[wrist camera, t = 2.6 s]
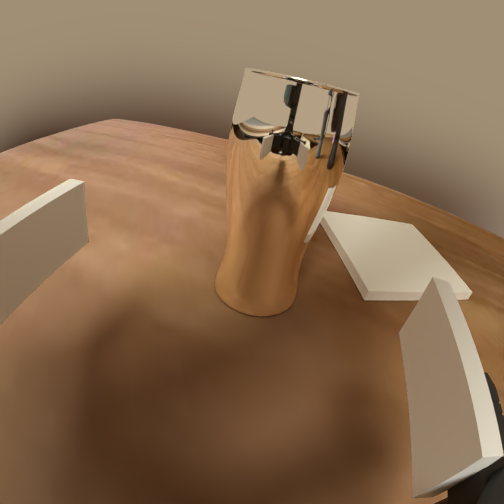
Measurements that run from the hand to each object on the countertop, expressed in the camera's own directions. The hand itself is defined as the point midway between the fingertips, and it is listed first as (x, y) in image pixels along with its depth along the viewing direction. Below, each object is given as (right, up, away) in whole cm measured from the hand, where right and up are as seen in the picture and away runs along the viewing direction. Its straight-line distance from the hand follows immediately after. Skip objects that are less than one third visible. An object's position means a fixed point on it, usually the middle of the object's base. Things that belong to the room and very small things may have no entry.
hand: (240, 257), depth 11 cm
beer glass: (+1, -3, +13) cm, 13 cm away
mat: (+16, 0, +21) cm, 26 cm away
